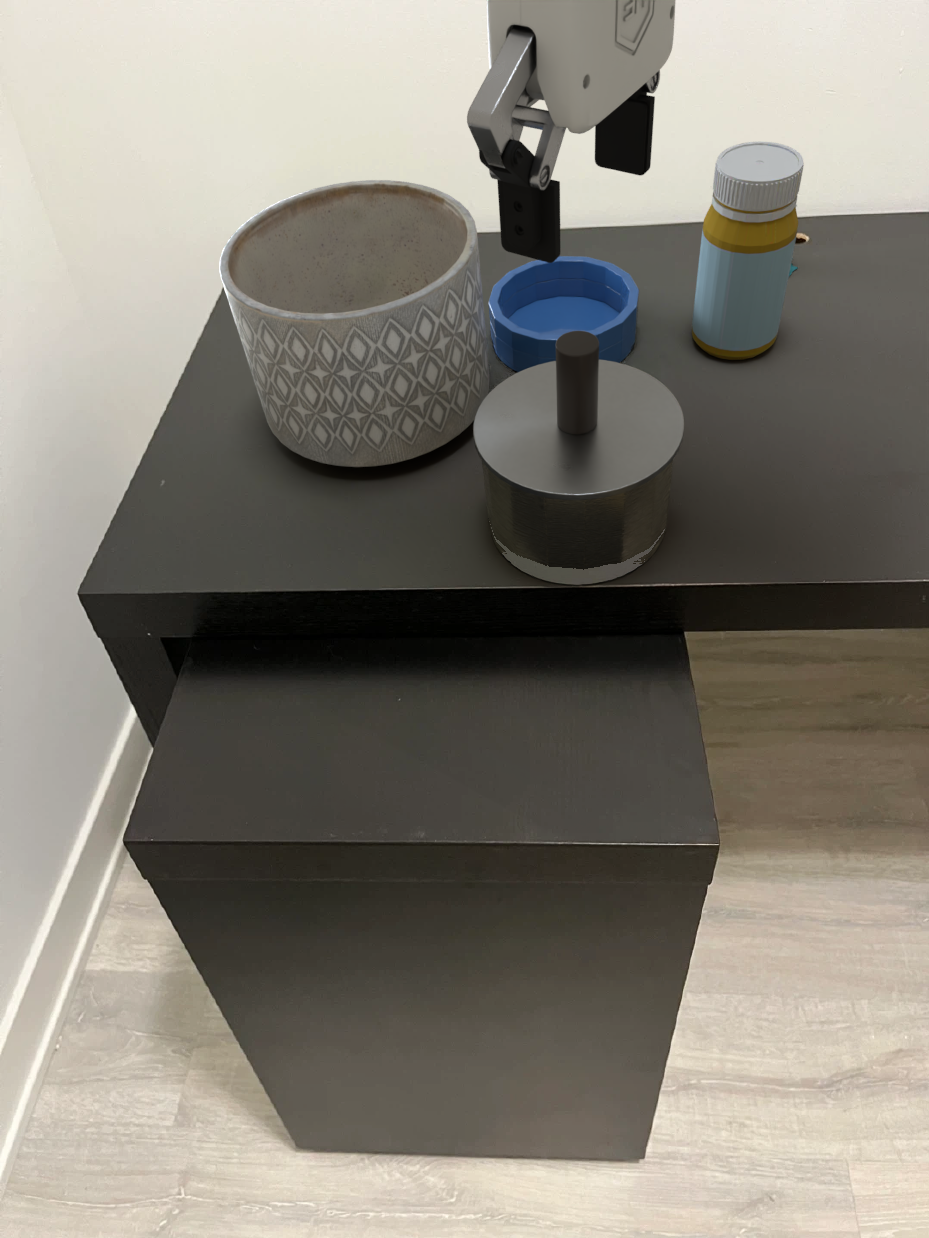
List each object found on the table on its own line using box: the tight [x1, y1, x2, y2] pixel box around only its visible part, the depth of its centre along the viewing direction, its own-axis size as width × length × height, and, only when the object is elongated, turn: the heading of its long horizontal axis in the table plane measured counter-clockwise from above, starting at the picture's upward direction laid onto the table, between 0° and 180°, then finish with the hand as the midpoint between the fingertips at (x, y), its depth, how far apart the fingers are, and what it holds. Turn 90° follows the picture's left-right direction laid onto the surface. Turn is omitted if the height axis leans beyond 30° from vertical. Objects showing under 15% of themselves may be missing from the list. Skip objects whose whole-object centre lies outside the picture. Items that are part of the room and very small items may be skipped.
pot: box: [481, 459, 674, 570], centre depth 65 cm, size 13×13×8 cm
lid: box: [472, 331, 685, 500], centre depth 59 cm, size 14×14×7 cm
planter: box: [218, 179, 491, 468], centre depth 73 cm, size 19×19×14 cm
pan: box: [487, 255, 640, 373], centre depth 81 cm, size 12×12×4 cm
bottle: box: [691, 141, 805, 361], centre depth 74 cm, size 7×7×15 cm
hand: (578, 209), depth 51 cm, fingers open, 9 cm apart
